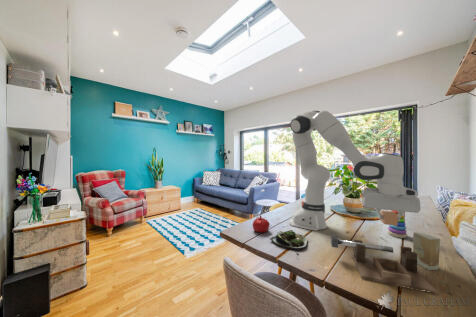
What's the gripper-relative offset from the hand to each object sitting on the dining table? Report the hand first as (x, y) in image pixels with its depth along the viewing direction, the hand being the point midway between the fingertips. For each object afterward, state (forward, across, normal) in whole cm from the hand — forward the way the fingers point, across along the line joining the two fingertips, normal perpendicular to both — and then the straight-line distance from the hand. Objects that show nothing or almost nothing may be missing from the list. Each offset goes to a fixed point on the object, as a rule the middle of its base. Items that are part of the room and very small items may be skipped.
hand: (388, 219), depth 79 cm
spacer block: (+2, 0, 0) cm, 2 cm away
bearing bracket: (+15, -6, -16) cm, 23 cm away
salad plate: (+17, -43, -4) cm, 46 cm away
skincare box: (+15, +10, -6) cm, 19 cm away
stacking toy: (+15, +13, +23) cm, 31 cm away
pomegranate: (+17, -60, +5) cm, 62 cm away
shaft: (+10, -14, -12) cm, 21 cm away
